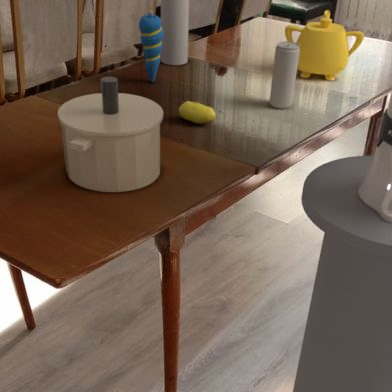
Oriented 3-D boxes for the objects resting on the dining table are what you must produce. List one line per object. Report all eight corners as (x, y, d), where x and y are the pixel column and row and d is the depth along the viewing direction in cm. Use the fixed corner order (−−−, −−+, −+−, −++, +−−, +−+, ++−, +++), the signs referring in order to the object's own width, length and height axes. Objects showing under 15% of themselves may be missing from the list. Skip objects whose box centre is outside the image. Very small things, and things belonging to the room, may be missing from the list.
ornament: (155, 87, 137) (154, 12, 128) (135, 83, 139) (133, 8, 129) (167, 81, 141) (168, 7, 131) (148, 76, 143) (147, 3, 133)
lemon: (185, 114, 127) (186, 94, 124) (219, 123, 124) (220, 104, 121) (173, 120, 124) (174, 100, 122) (207, 130, 121) (208, 110, 118)
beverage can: (265, 106, 132) (272, 45, 124) (273, 99, 135) (280, 39, 127) (287, 111, 130) (295, 49, 122) (295, 103, 133) (303, 43, 125)
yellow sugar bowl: (361, 76, 148) (372, 21, 140) (318, 87, 142) (327, 30, 134) (319, 59, 156) (328, 7, 149) (277, 69, 150) (283, 14, 142)
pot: (181, 156, 112) (183, 102, 106) (125, 208, 97) (122, 150, 91) (104, 138, 117) (101, 86, 110) (39, 185, 102) (31, 129, 96)
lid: (180, 111, 105) (181, 72, 101) (132, 149, 93) (131, 107, 89) (93, 93, 109) (90, 55, 105) (37, 127, 98) (31, 86, 94)
